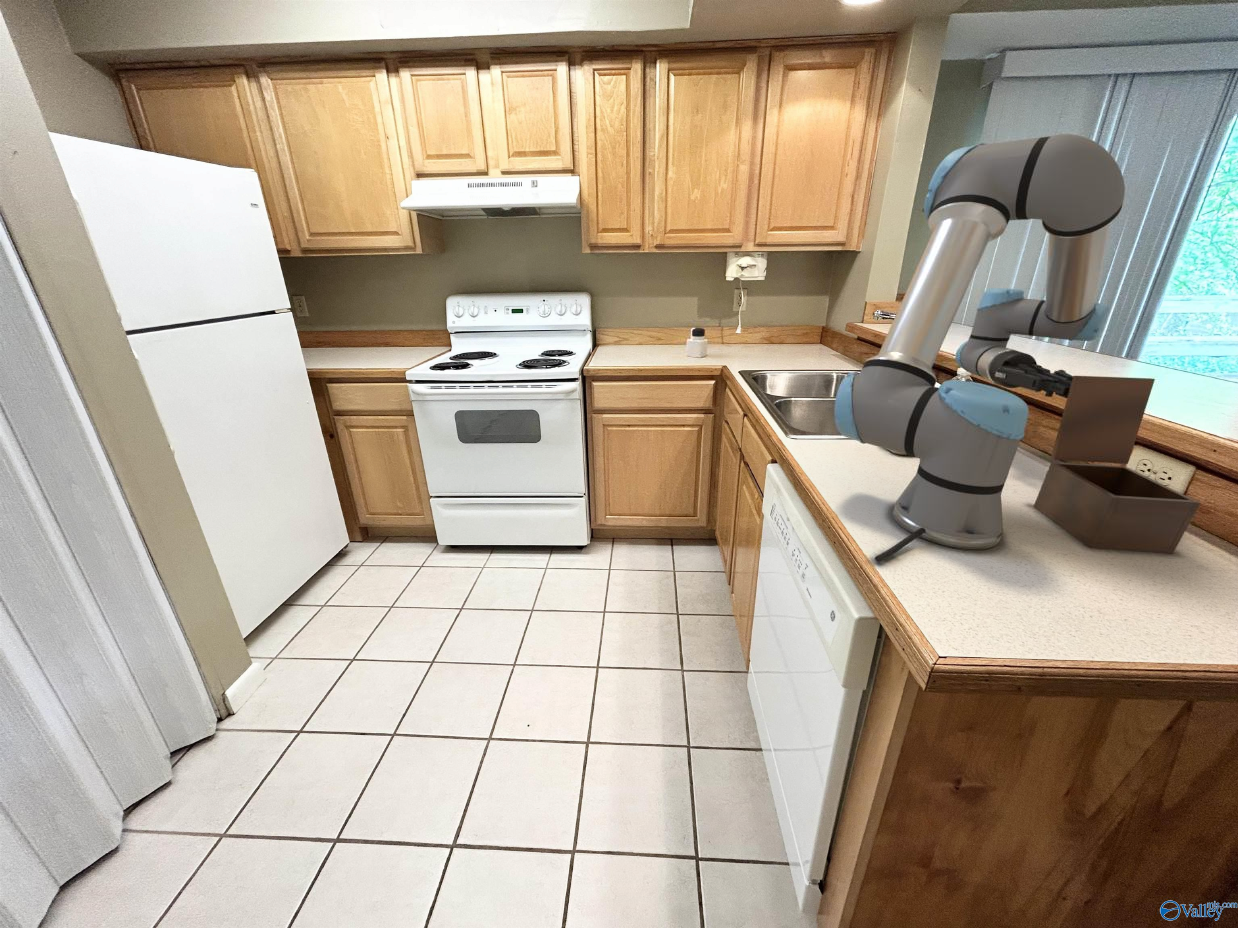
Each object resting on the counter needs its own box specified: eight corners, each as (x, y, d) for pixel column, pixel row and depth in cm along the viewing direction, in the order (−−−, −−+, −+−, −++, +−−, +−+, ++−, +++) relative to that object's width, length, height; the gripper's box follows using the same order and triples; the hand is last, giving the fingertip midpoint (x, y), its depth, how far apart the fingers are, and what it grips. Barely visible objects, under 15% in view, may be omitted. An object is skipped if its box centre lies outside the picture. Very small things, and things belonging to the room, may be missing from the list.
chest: (1173, 553, 74) (1201, 502, 71) (1090, 547, 76) (1113, 497, 72) (1103, 511, 87) (1124, 465, 83) (1033, 506, 88) (1051, 461, 85)
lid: (1155, 378, 79) (1150, 378, 80) (1077, 376, 80) (1073, 375, 81) (1128, 464, 83) (1123, 462, 84) (1053, 460, 84) (1050, 458, 85)
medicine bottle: (706, 355, 217) (709, 327, 212) (700, 358, 211) (702, 329, 207) (692, 353, 221) (694, 326, 216) (685, 356, 215) (687, 328, 210)
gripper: (1033, 385, 107) (1120, 418, 85) (970, 383, 108) (1039, 415, 87) (1045, 351, 104) (1139, 376, 82) (980, 349, 105) (1055, 373, 84)
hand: (1088, 396), depth 85 cm, fingers closed
